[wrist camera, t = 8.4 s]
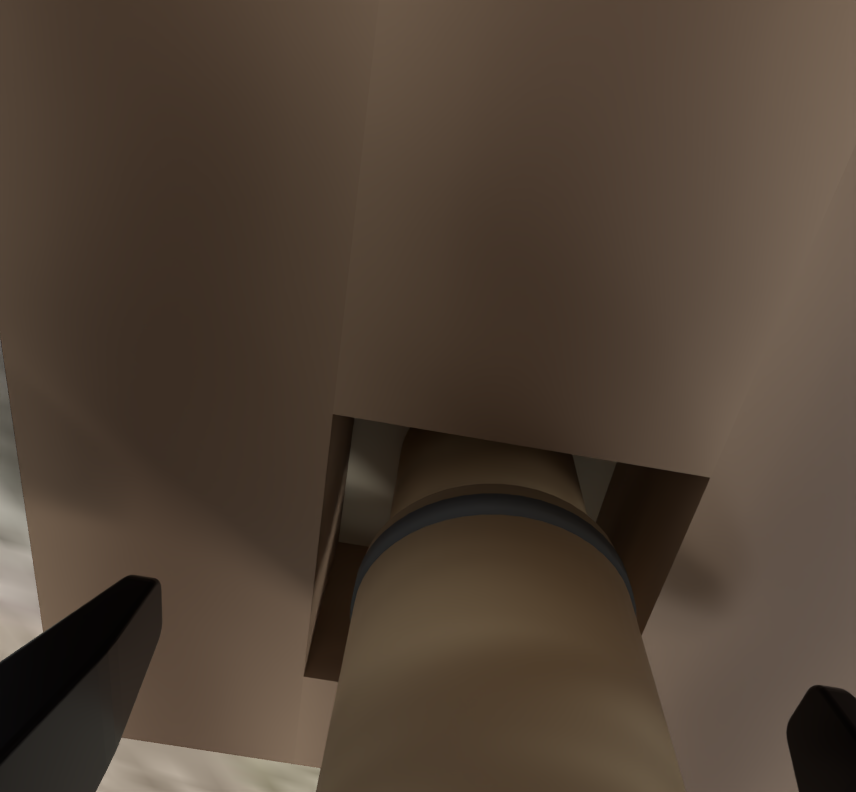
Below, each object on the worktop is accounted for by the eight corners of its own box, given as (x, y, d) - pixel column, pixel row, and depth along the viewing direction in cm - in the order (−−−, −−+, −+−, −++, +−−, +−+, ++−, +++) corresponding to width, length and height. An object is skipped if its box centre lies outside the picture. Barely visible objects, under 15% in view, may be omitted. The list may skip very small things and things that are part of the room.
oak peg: (616, 392, 13) (865, 993, 5) (560, 559, 15) (669, 1187, 7) (398, 354, 13) (272, 906, 5) (370, 528, 14) (250, 1131, 6)
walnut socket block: (1362, -593, 8) (2349, -1290, 4) (717, 652, 17) (793, 840, 13) (107, -872, 7) (-339, -1990, 3) (156, 561, 17) (56, 728, 13)
